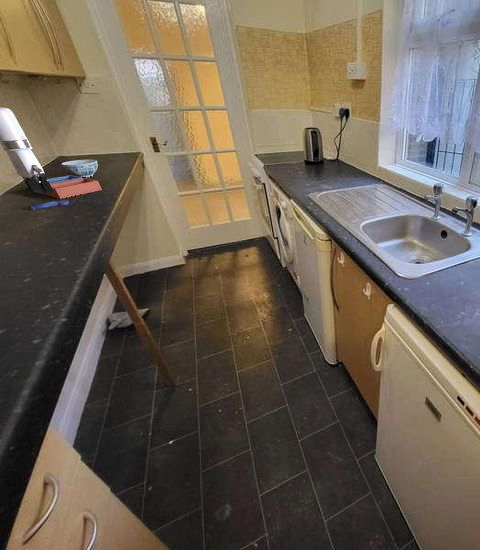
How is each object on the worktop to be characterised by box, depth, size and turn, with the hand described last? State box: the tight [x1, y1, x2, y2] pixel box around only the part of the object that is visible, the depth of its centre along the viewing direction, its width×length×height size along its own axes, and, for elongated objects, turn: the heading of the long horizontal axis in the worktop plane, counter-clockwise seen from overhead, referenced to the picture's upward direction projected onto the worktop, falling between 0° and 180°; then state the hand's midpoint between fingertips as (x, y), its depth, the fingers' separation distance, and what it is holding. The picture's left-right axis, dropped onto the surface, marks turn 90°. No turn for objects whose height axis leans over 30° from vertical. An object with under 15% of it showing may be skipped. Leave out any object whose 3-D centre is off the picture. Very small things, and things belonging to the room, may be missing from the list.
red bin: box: [47, 177, 103, 200], centre depth 139 cm, size 17×11×5 cm, turn 155°
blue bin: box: [32, 174, 83, 196], centre depth 144 cm, size 17×11×5 cm, turn 155°
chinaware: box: [61, 159, 99, 178], centre depth 165 cm, size 15×15×8 cm
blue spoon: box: [29, 199, 70, 211], centre depth 122 cm, size 12×4×2 cm, turn 155°
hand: (42, 191), depth 119 cm, fingers open, 9 cm apart
